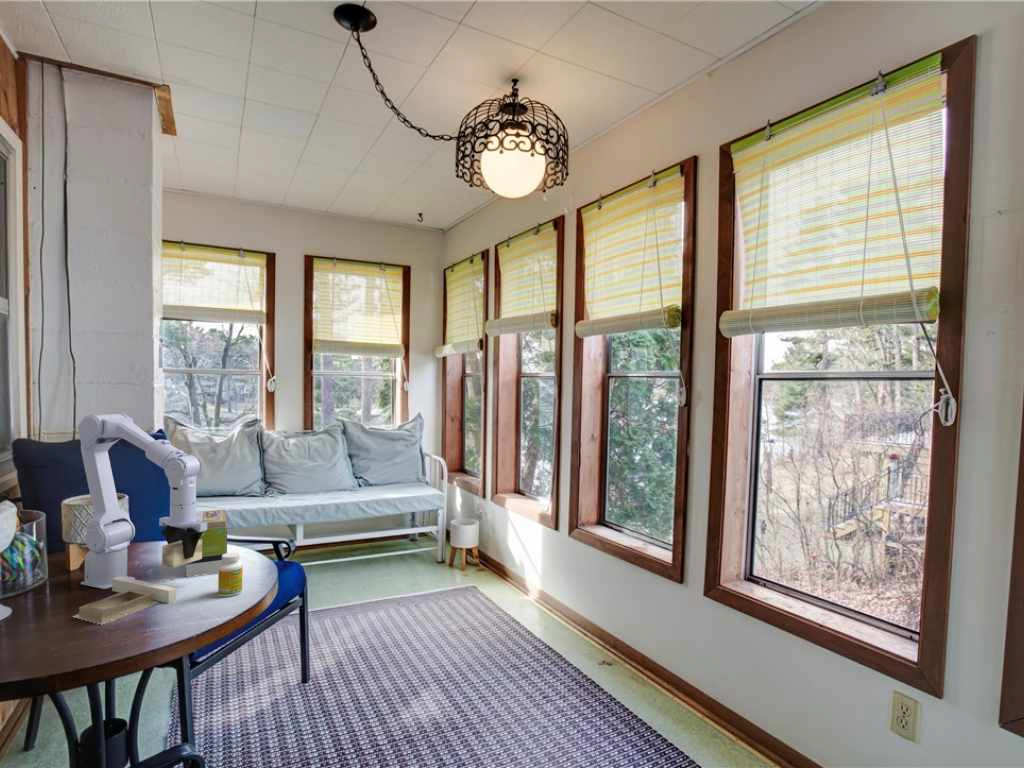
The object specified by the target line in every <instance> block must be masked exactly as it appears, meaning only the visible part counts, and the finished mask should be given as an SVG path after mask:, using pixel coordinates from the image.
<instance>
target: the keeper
mask: <svg viewBox="0 0 1024 768" xmlns="http://www.w3.org/2000/svg"><path fill="white" fill-rule="evenodd" d="M158 603H159V604H160V601H156V600H153V594H149V593H145V592H140V591H135V590H128V591H125V592H122V593H120V592H118V593H117V594H113V595H110V596H108V597H105V598H102V599H99V600H96V601H93V602H89V603H87V604H84V605H81V606H79V608H78V609H79V610H78V613H77V614H75V615H73V616H71V617H74V618H73V619H75V618H78V619H77V620H79V619H81V620H80V621H83V620H85V621H84V622H87V621H89V622H88V623H91V622H93V623H92V624H95V623H97V624H96V625H99V624H100V626H104V625H103V624H105V625H106V623H107V624H109V622H110V623H112V622H114V621H117V619H118V620H119V619H122V617H123V618H125V617H128V616H131V615H133V614H135V612H136V613H138V612H140V611H143V610H147V609H149V608H151V607H153V606H156V605H159V604H158ZM148 607H149V608H148ZM127 615H128V616H127Z"/></svg>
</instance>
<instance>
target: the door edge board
mask: <svg viewBox="0 0 1024 768" xmlns="http://www.w3.org/2000/svg"><path fill="white" fill-rule="evenodd" d="M128 590H135V591H140V592H145V593H149V594H153V601H156V600H157V601H156V602H160V601H162V602H161V603H165V602H167V603H166V604H171V603H173V602H172V601H174V602H176V601H177V587H174V586H168V585H164V584H158V583H153V582H148V581H144V580H140V579H139V580H138V579H136V578H135V579H130V578H126V577H121V576H120V577H117V578H114V579H112V587H111V592H116V593H122V592H125V591H128ZM175 600H176V601H175ZM170 602H171V603H170Z"/></svg>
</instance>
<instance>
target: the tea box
mask: <svg viewBox="0 0 1024 768" xmlns="http://www.w3.org/2000/svg"><path fill="white" fill-rule="evenodd" d="M196 517H199V520H200V521H202V522H206V523H207V530H206V531H204V532H203V534H202V535H201V537H200V539H202V559H200V560H197V561H194V562H191V563H187V564H185V573H186V574H185V576H193V577H196V576H195V575H201V576H203V575H202V574H209V575H211V574H210V573H216V574H219V573H218V572H219V565H220V564H222V563H223V562H222V555H223V554H226V553H228V526H227V525H228V524H227V510H226V509H225V508H224V509H215V510H205V511H196ZM185 531H187V529H185Z"/></svg>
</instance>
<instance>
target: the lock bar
mask: <svg viewBox="0 0 1024 768" xmlns="http://www.w3.org/2000/svg"><path fill="white" fill-rule="evenodd" d="M161 547H162V548H161V550H162V551H161V556H162V557H161V561H162V562H161V567H166V568H171V569H175V568H178V567H181V566H184V565H186V564H187V563H191V562H194V561H197V560H200V559H202V539H199V541H198V543H197V546H196V549H195V553H194V556H193V557H191V558H188V559H185V558H184V554H183V544H182V540H181V541H178V542H174V543H171V544H168V543H167V544H164V545H162V546H161Z"/></svg>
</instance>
